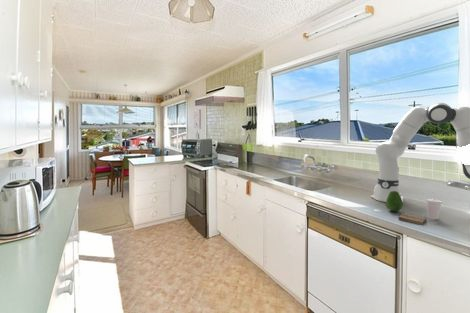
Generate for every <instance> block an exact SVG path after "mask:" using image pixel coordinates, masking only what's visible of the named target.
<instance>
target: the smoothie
mask: <svg viewBox="0 0 470 313" xmlns="http://www.w3.org/2000/svg"><path fill="white" fill-rule="evenodd" d="M431 197H432V198H427V199H426V203H427V218H428V219H430V220H437V219H438V216H439V212H440V209H441V204H443V203H442V202H443V201H441V200H439V199H435V198H434V197H435V192H434V191H433V192H432V196H431Z"/></svg>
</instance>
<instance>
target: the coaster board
mask: <svg viewBox="0 0 470 313" xmlns="http://www.w3.org/2000/svg"><path fill="white" fill-rule="evenodd" d="M398 220H399V221H403V222H407V223H410V224H411V223H412V224H417V225H421V226H423V225H424V224H425V222H426V221H427V217H426V216H422V215H417V214H412V213H406V212H402V214H401V215H399V217H398Z"/></svg>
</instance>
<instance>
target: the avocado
mask: <svg viewBox="0 0 470 313" xmlns="http://www.w3.org/2000/svg"><path fill="white" fill-rule="evenodd" d="M400 195H401V193H400V194H399V193H398V192H396V191H391V192H390V193H389V195H388V198H387V201H386V202H385V205H386V208H387V209H388V210H389V211H391V212H395V213H398V212H400V211H401V210H402V208H403V204H404V202H403V203H402V199H401V197H400Z"/></svg>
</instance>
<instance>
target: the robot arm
mask: <svg viewBox="0 0 470 313" xmlns="http://www.w3.org/2000/svg"><path fill="white" fill-rule="evenodd" d="M427 122H431V123H433V124H439V125H440V124H447V123H450V124H451V125H452V127H453V128H454V130H455V133H456V139H455V146H456V148H457V146H459V147H462V146H466V145H468V144H470V107H469V106H461V107H457V108H453V107H451V106H450V105H449V104H447V103H444V102H437V103H435V104H432V105H430V106H428V107H426V108H424V107H421V106H414V107H412V108H411V109H410V110H409V111H407V113H406V114H404V116H403V117H402V118H401V120H400V121H399V123H398V124H397V125H396V127H395V128H394V130H393V131H392V135H391V137H390V138H389V140H388V141H383V142H381V143H379V144H377V146H376V148H375V154H376V155H377V158H378V159H377V161H378V178H377V182H376V183H377V184H376V185H375V186H374V189H373V195H371V196H370V198H372V199H374V200H377V201H379V202H382V203H383V202H385V203H386V201H387V198H388V195H389V193H390V192H391V191H396V192H398V193H399V194H400V197H401V199H402V203H403V204H404V196H402V194H401V189H400V187H399V185H400V181H399V172H400V168H399V164H398V159H397V158H399V157H402V155H404V153H405V152H406V151H405V150H406V148H407V147H408V146H409V144H410V143H411V140H412V139H413V138H414V137H415V136H416V134H417V133H418V131H419V130H420V129H421V128H422V127H423V125H424V124H426V123H427ZM461 165H462V172H463V174H464V176H465V177H466V178H468V179H469V180H470V165H464V164H462V163H461ZM469 180H465V179H464V180H463V179H448V182H447V184H446V185H447V186H448V187H453V188H457V189H462V190H465V191H470V181H469Z"/></svg>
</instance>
